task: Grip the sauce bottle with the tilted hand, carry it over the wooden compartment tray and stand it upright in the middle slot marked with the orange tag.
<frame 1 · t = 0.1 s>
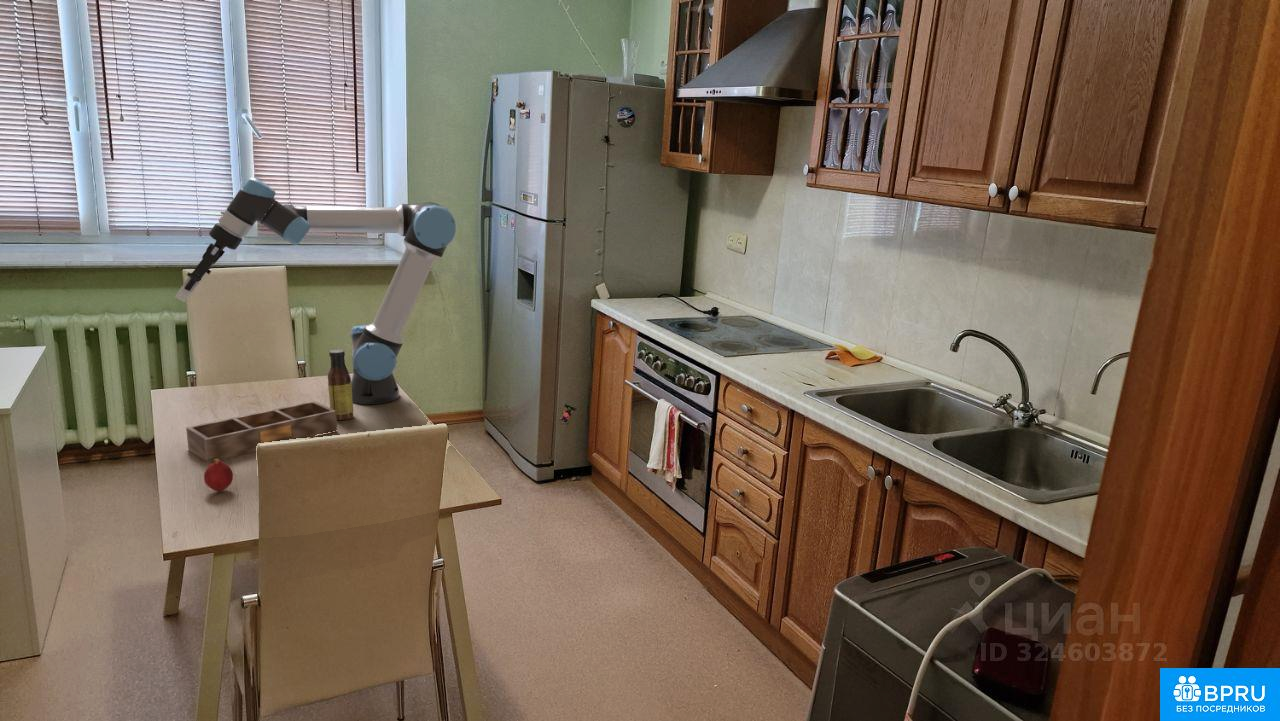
hand: (183, 294, 220), 36 cm above the table, tool tilted 35°, fingers open, 13 cm apart
sauce bottle: (341, 418, 238), on the table
wooden compartment tray: (265, 440, 218), on the table
onion: (220, 492, 186), on the table
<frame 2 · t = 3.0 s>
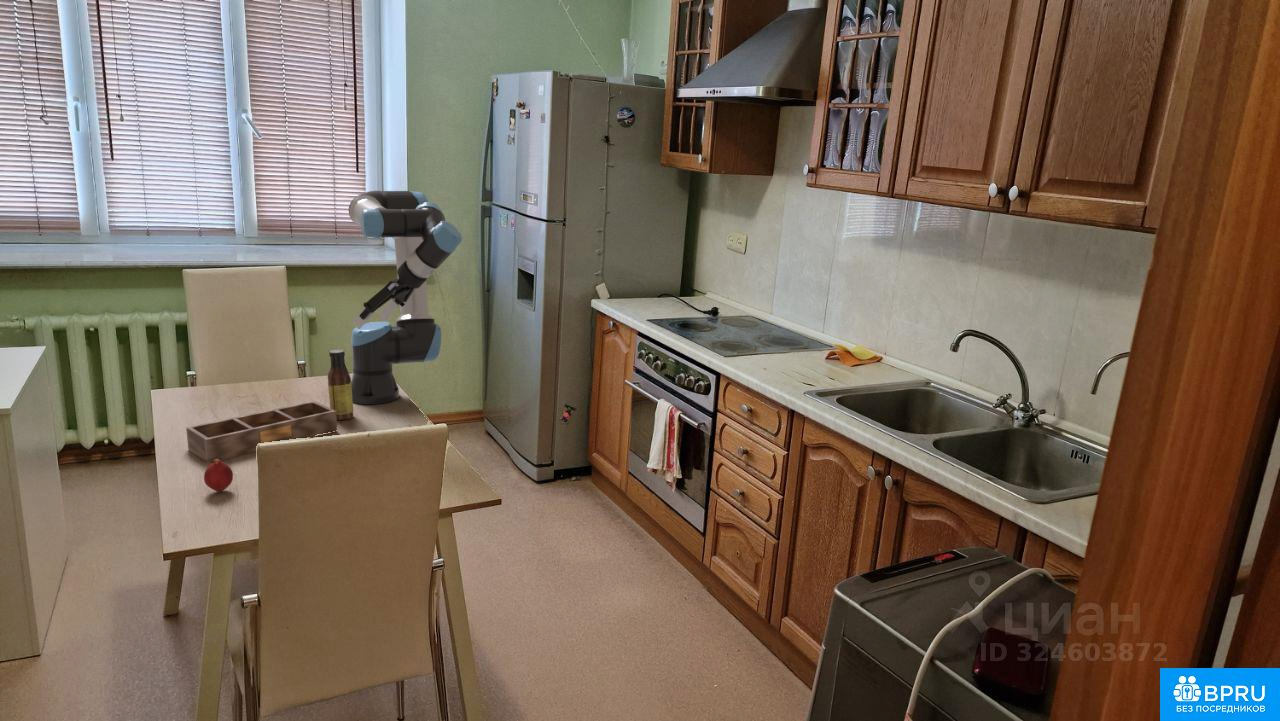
hand: (369, 321, 229), 29 cm above the table, tool tilted 45°, fingers open, 13 cm apart
nothing on the table moved.
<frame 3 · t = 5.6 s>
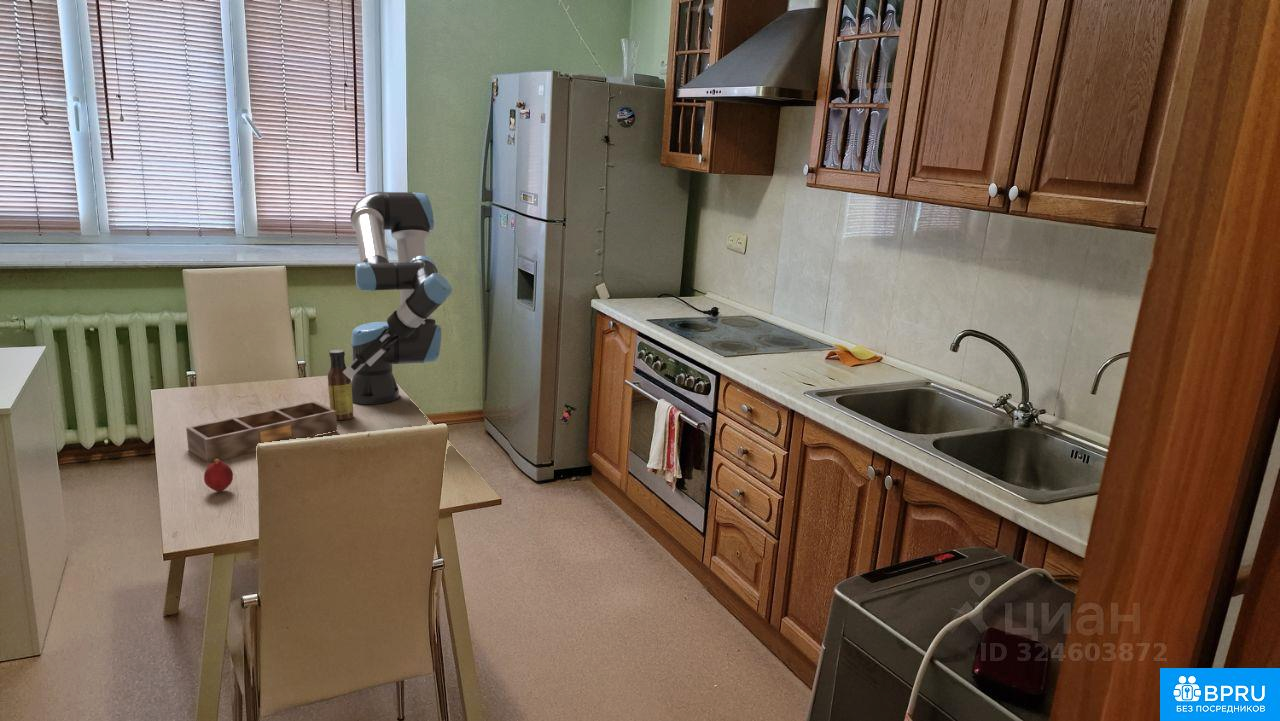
hand: (357, 369, 232), 15 cm above the table, tool tilted 45°, fingers open, 13 cm apart
nothing on the table moved.
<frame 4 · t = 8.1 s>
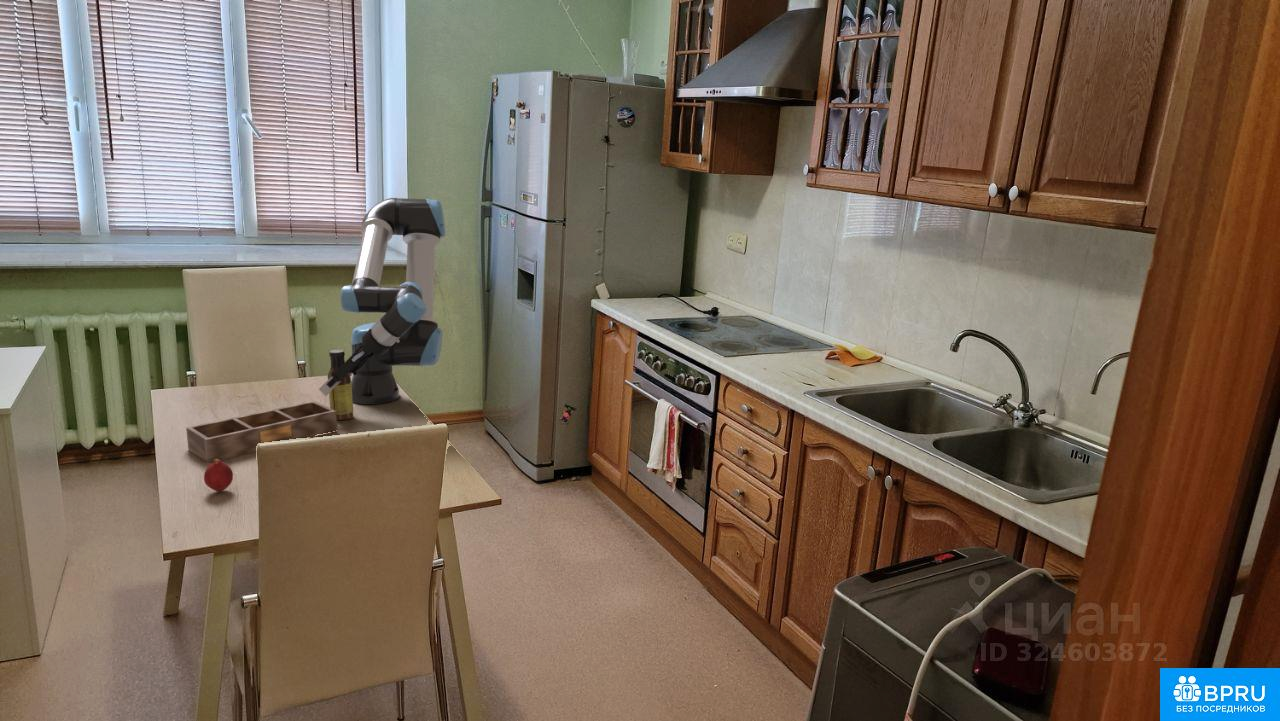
hand: (328, 388, 236), 8 cm above the table, tool tilted 45°, fingers closed on sauce bottle, 6 cm apart
sauce bottle: (341, 418, 238), on the table, touching gripper
everything else where it was.
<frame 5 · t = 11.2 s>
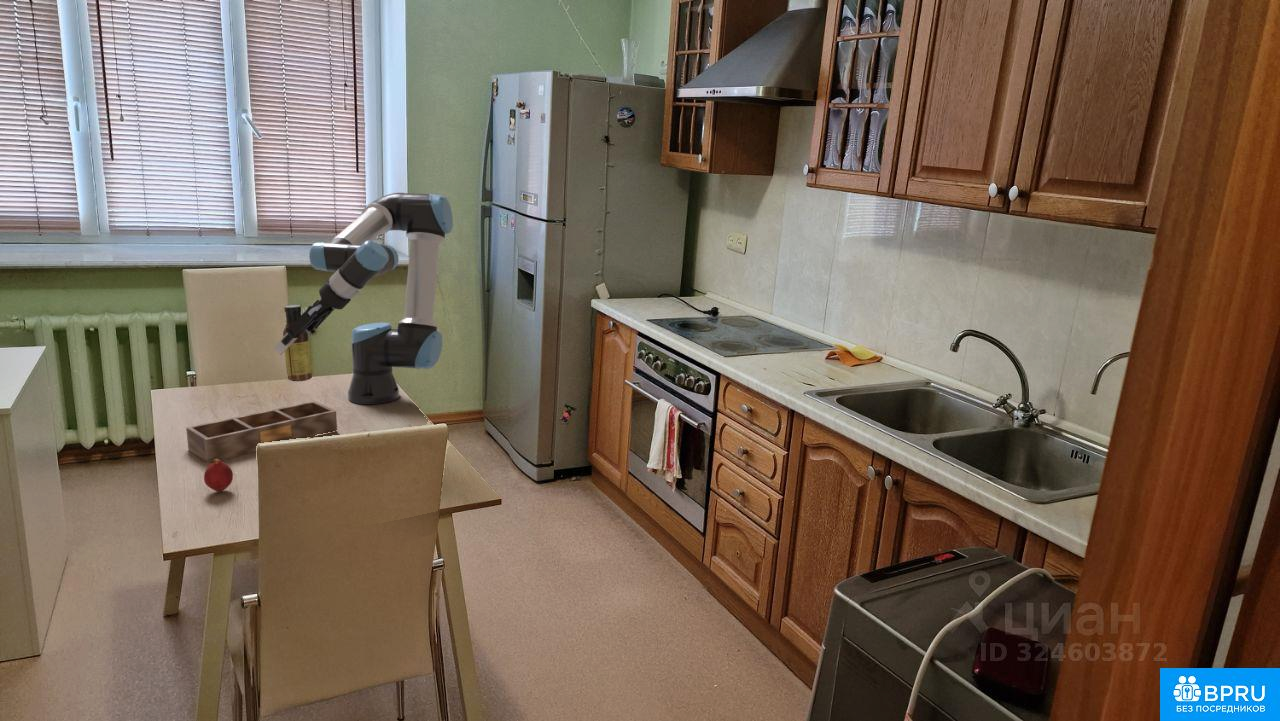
hand: (284, 348, 219), 24 cm above the table, tool tilted 45°, fingers closed on sauce bottle, 6 cm apart
sauce bottle: (299, 380, 220), point 15 cm above the table, touching gripper
everything else where it was.
when the fingers open (11 cm above the table, at t = 14.4 s): sauce bottle drops 1 cm, resting on wooden compartment tray.
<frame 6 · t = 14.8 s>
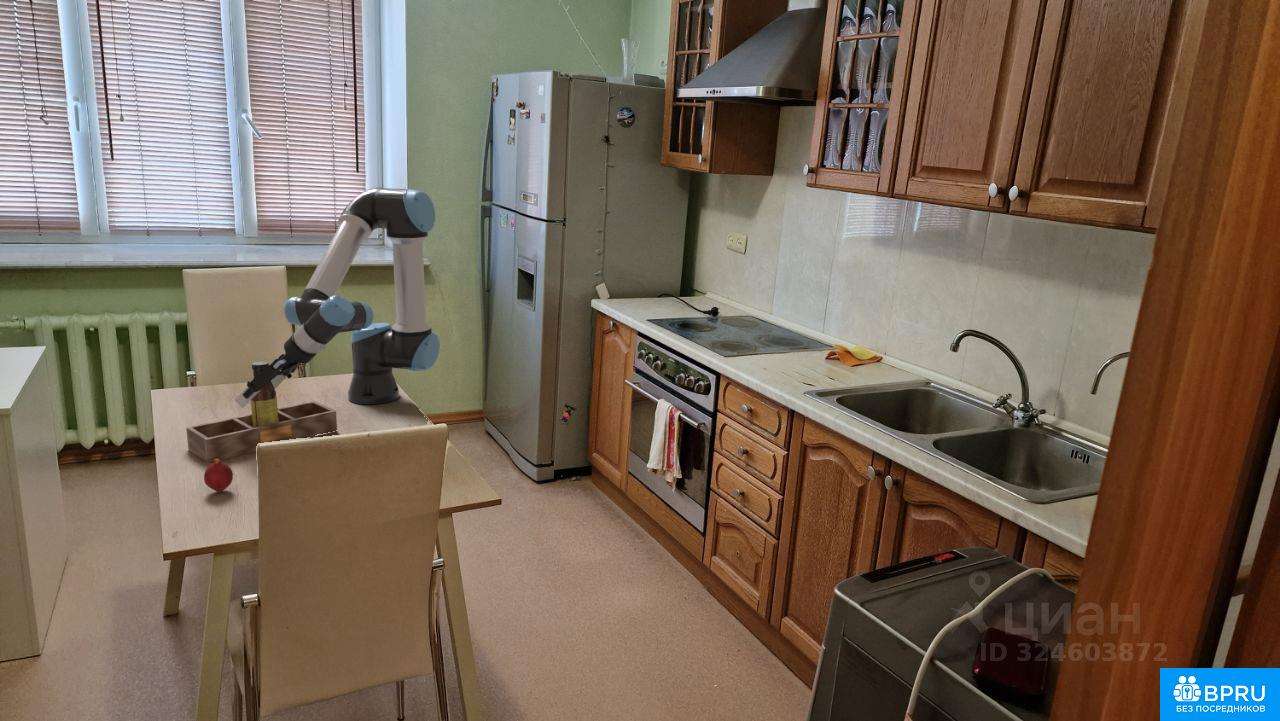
hand: (253, 396, 215), 12 cm above the table, tool tilted 45°, fingers open, 12 cm apart
sauce bottle: (266, 436, 218), point 1 cm above the table, touching wooden compartment tray
everything else where it was.
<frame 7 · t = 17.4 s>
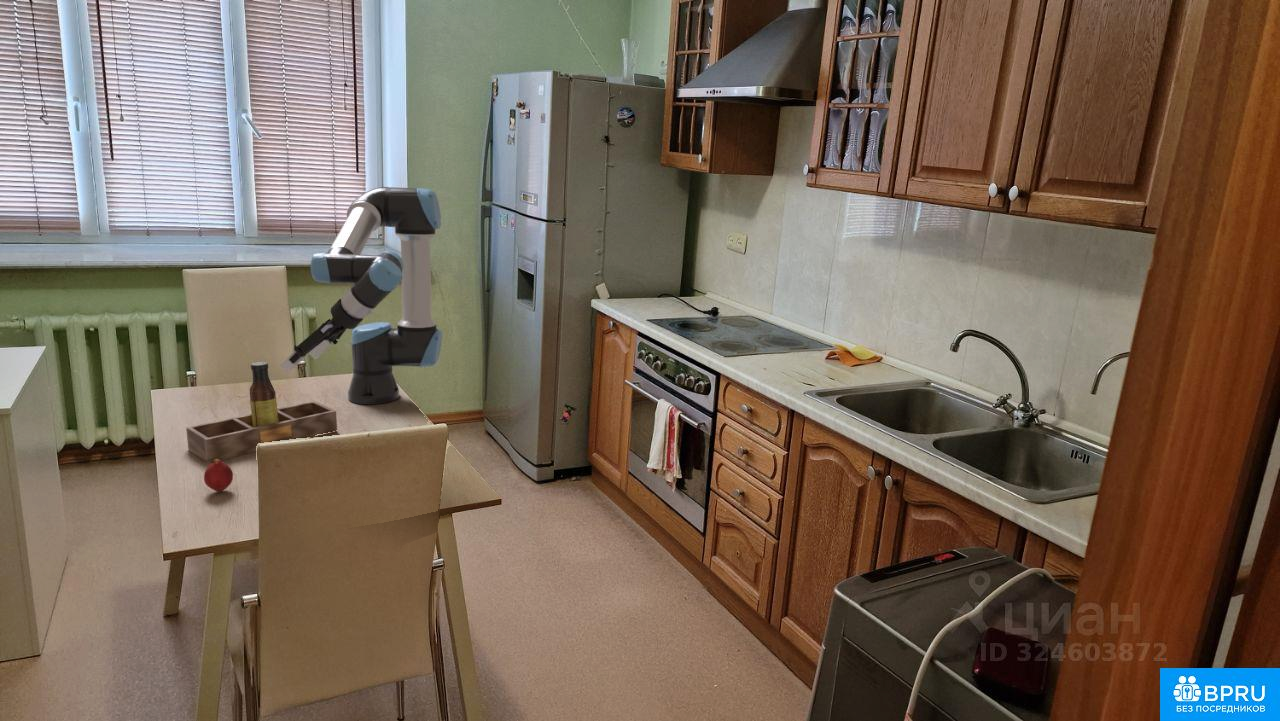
hand: (298, 362, 211), 22 cm above the table, tool tilted 45°, fingers open, 13 cm apart
nothing on the table moved.
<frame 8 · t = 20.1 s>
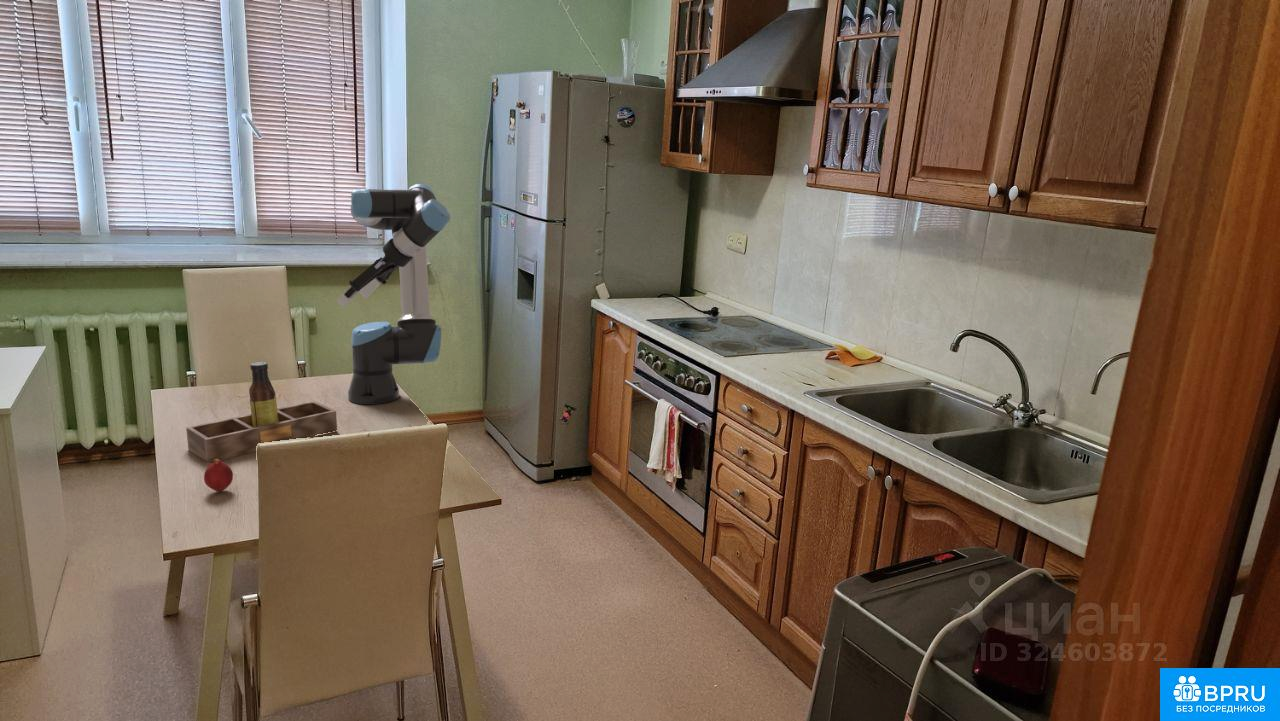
hand: (351, 299, 225), 36 cm above the table, tool tilted 45°, fingers open, 13 cm apart
nothing on the table moved.
at the end: sauce bottle inside the target area on the wooden compartment tray (0.2 cm from its centre), point 1.0 cm above the wooden compartment tray's base; sauce bottle tilted 0°; the gripper is holding nothing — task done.
